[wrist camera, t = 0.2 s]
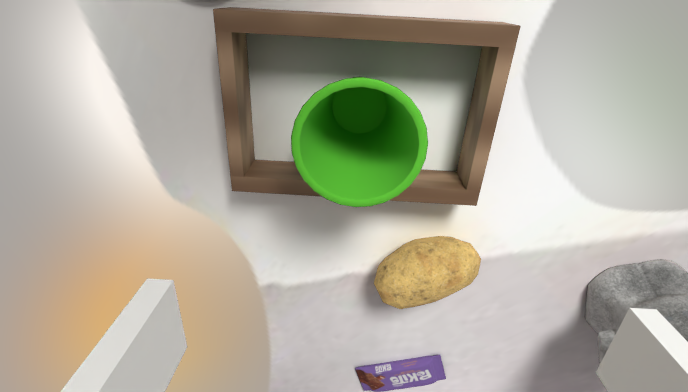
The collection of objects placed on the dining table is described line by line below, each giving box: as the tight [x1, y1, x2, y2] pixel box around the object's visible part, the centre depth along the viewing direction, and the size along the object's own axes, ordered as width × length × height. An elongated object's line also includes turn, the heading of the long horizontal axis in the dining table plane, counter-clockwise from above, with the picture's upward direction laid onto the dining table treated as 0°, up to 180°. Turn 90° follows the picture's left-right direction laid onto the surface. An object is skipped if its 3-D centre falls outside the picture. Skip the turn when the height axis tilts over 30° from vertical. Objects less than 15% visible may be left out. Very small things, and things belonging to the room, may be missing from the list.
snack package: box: [355, 355, 446, 392], centre depth 51 cm, size 12×2×5 cm
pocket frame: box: [213, 7, 520, 206], centre depth 33 cm, size 15×22×4 cm
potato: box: [374, 236, 481, 309], centre depth 39 cm, size 7×11×6 cm, turn 109°
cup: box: [291, 77, 428, 207], centre depth 30 cm, size 9×9×11 cm
